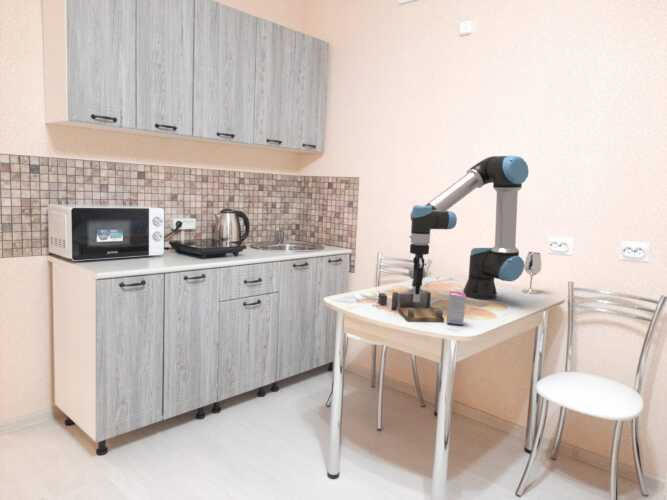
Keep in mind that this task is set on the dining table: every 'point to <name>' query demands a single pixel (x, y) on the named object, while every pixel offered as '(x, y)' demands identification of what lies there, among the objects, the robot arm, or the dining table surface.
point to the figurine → (412, 274)
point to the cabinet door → (417, 312)
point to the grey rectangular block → (407, 300)
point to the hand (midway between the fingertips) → (416, 301)
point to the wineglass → (532, 268)
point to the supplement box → (456, 308)
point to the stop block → (382, 299)
